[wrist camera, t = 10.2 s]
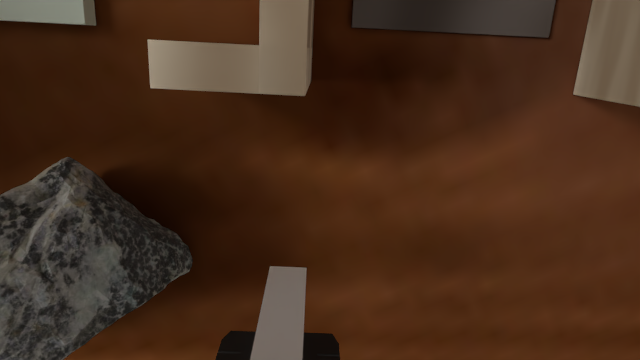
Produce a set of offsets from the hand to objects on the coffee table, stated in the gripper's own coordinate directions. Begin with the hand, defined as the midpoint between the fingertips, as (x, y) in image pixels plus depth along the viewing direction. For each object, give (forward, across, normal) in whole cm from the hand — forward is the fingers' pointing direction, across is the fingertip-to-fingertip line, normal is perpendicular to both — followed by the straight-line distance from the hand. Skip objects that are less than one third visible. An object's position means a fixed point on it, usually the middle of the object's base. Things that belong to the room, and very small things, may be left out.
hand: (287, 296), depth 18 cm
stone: (+6, -10, 0) cm, 11 cm away
